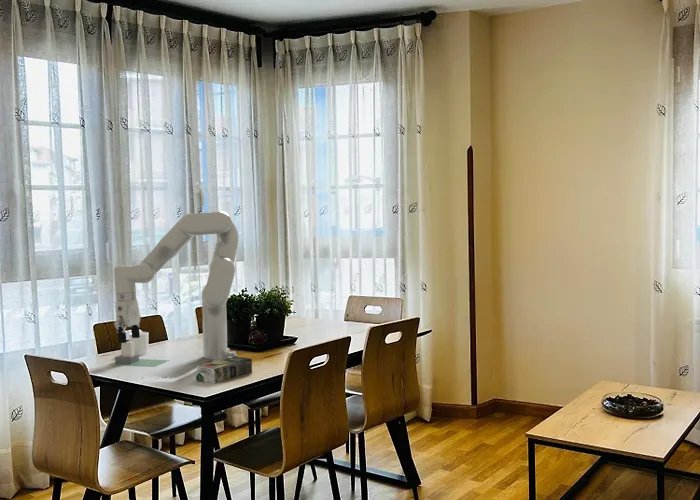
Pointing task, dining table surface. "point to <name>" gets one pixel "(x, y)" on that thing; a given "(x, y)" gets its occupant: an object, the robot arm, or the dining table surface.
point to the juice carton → (224, 369)
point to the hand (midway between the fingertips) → (129, 340)
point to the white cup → (140, 343)
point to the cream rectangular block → (128, 349)
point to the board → (136, 361)
